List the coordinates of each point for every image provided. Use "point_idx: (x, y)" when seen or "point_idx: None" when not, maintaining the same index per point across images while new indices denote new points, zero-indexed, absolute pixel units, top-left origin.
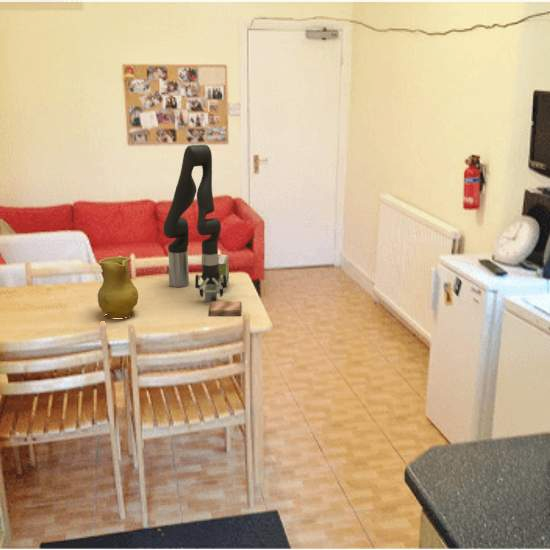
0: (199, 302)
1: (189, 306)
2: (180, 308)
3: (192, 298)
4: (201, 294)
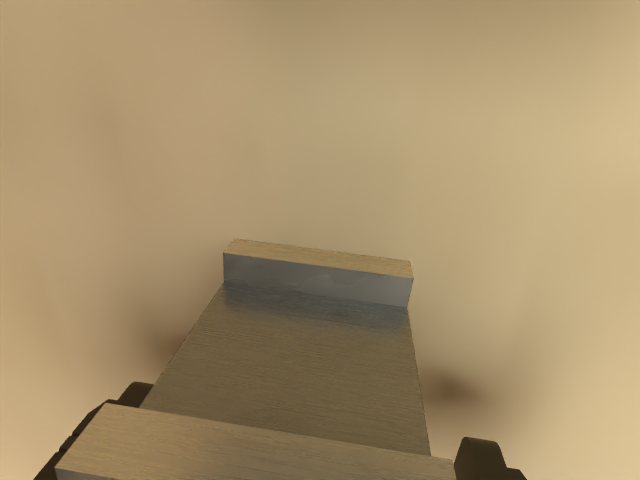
0: (158, 362)
1: None
2: (2, 463)
3: (24, 206)
4: None
